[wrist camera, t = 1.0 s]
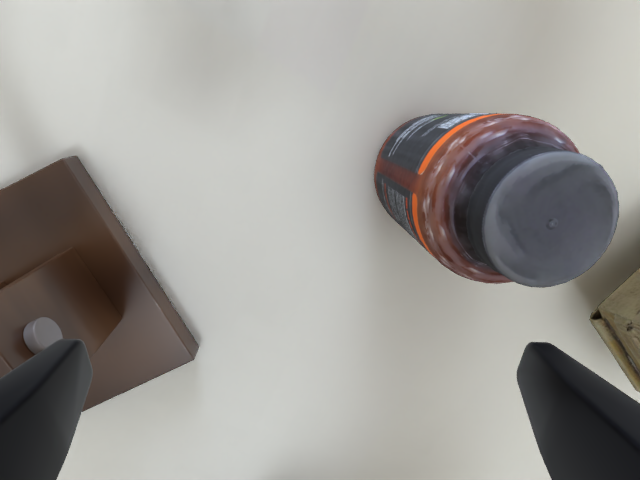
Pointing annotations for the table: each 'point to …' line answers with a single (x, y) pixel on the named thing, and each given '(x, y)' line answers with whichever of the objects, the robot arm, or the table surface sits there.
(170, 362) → the switch bracket
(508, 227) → the supplement bottle
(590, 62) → the table surface
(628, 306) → the box
